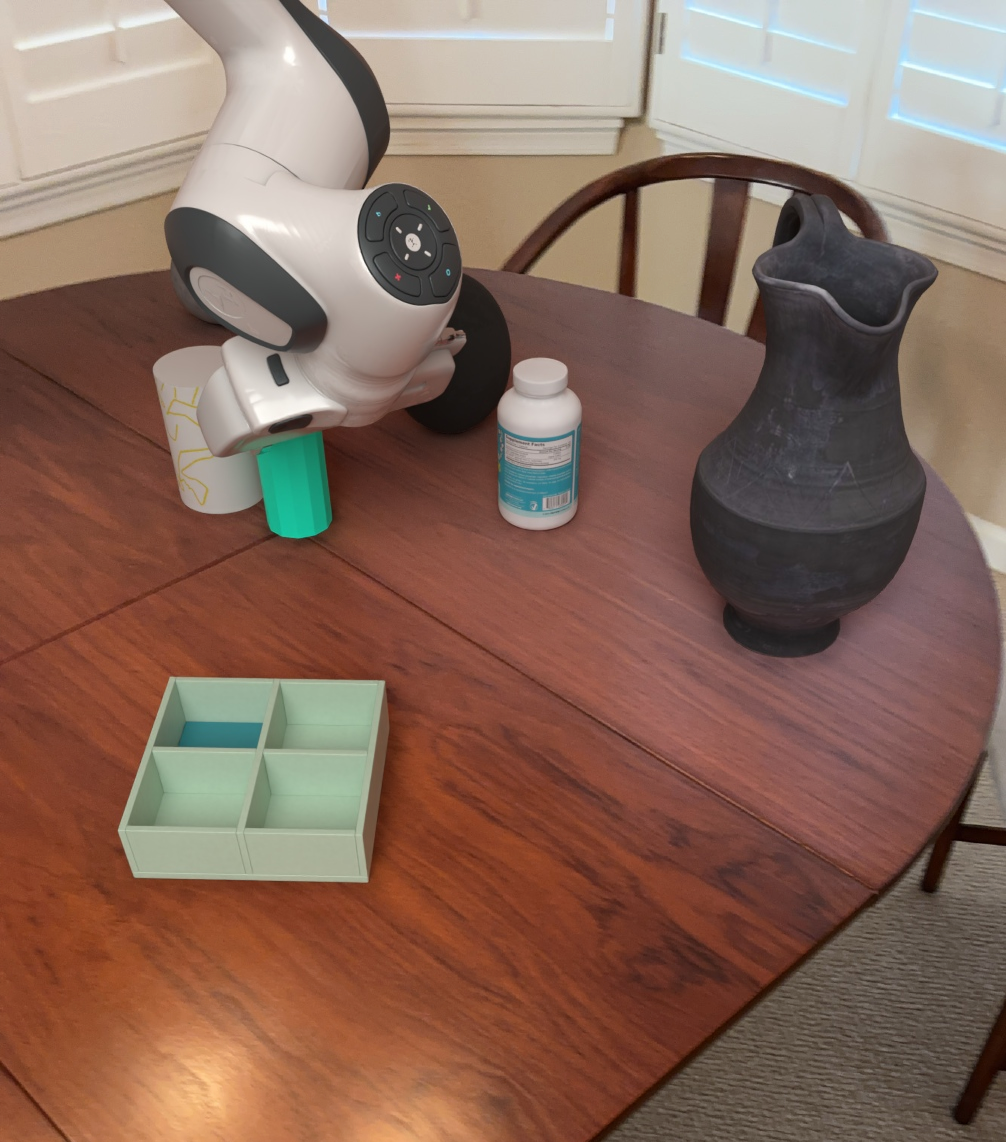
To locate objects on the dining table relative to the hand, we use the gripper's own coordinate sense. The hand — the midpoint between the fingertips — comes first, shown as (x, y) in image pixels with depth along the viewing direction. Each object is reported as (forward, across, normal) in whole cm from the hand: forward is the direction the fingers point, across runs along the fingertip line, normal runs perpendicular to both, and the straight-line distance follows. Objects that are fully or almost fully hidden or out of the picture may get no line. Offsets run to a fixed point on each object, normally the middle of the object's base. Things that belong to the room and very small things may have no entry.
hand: (309, 430), depth 98 cm
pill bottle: (+4, -20, +11) cm, 23 cm away
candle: (+12, 0, +4) cm, 12 cm away
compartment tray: (-12, +17, +27) cm, 34 cm away
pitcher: (-12, -28, +28) cm, 42 cm away
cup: (+18, +4, -2) cm, 18 cm away
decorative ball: (+43, -10, -27) cm, 52 cm away
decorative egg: (+17, -21, -2) cm, 27 cm away
